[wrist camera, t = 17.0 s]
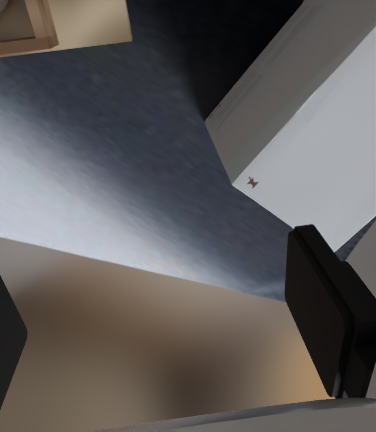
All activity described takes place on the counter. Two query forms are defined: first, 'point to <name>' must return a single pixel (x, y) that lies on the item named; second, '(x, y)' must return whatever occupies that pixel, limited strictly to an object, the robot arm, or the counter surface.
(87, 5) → the wooden tray
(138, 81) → the counter surface
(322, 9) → the supplement box
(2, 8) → the plastic bottle
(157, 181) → the counter surface
